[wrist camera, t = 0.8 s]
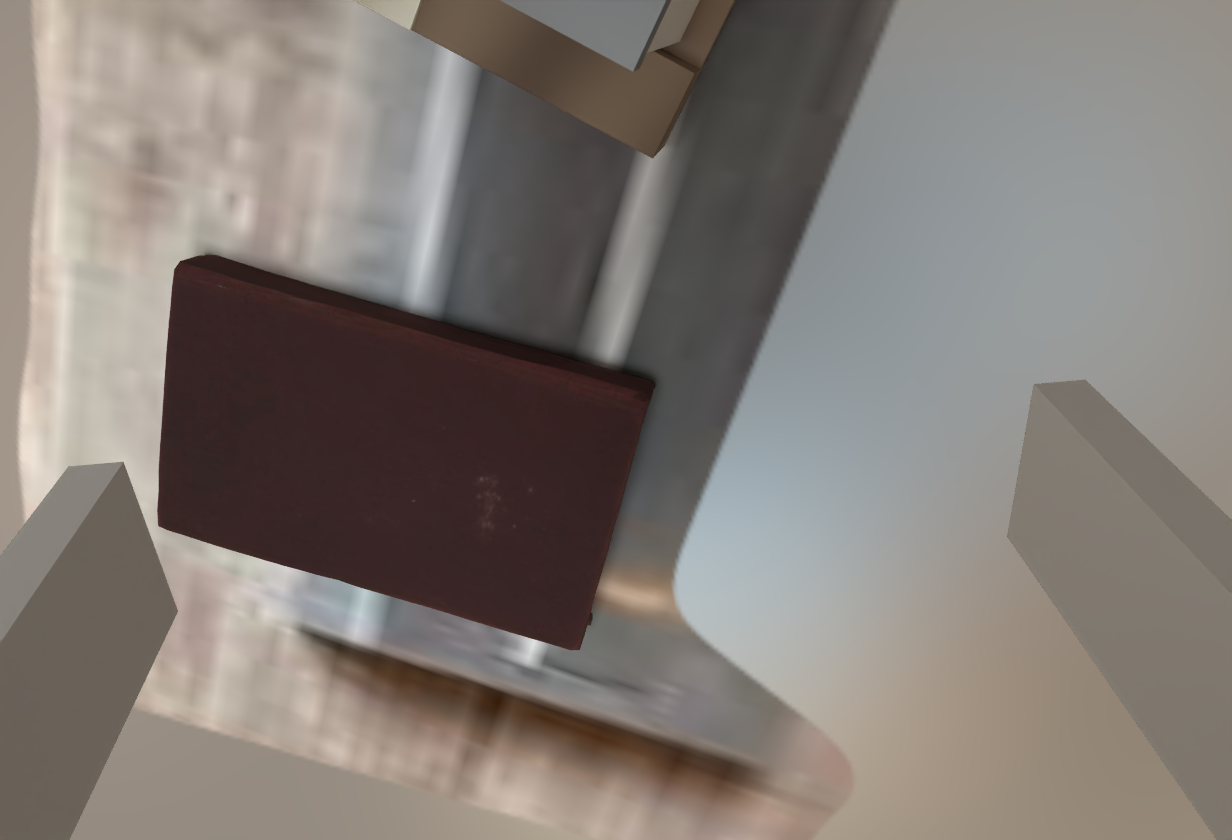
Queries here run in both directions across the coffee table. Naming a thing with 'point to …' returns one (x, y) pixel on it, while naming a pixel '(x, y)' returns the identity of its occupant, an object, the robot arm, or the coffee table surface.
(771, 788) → the coffee table surface
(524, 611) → the book
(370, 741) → the coffee table surface
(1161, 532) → the robot arm
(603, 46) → the beige upright block
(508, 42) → the dark open tray
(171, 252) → the coffee table surface
